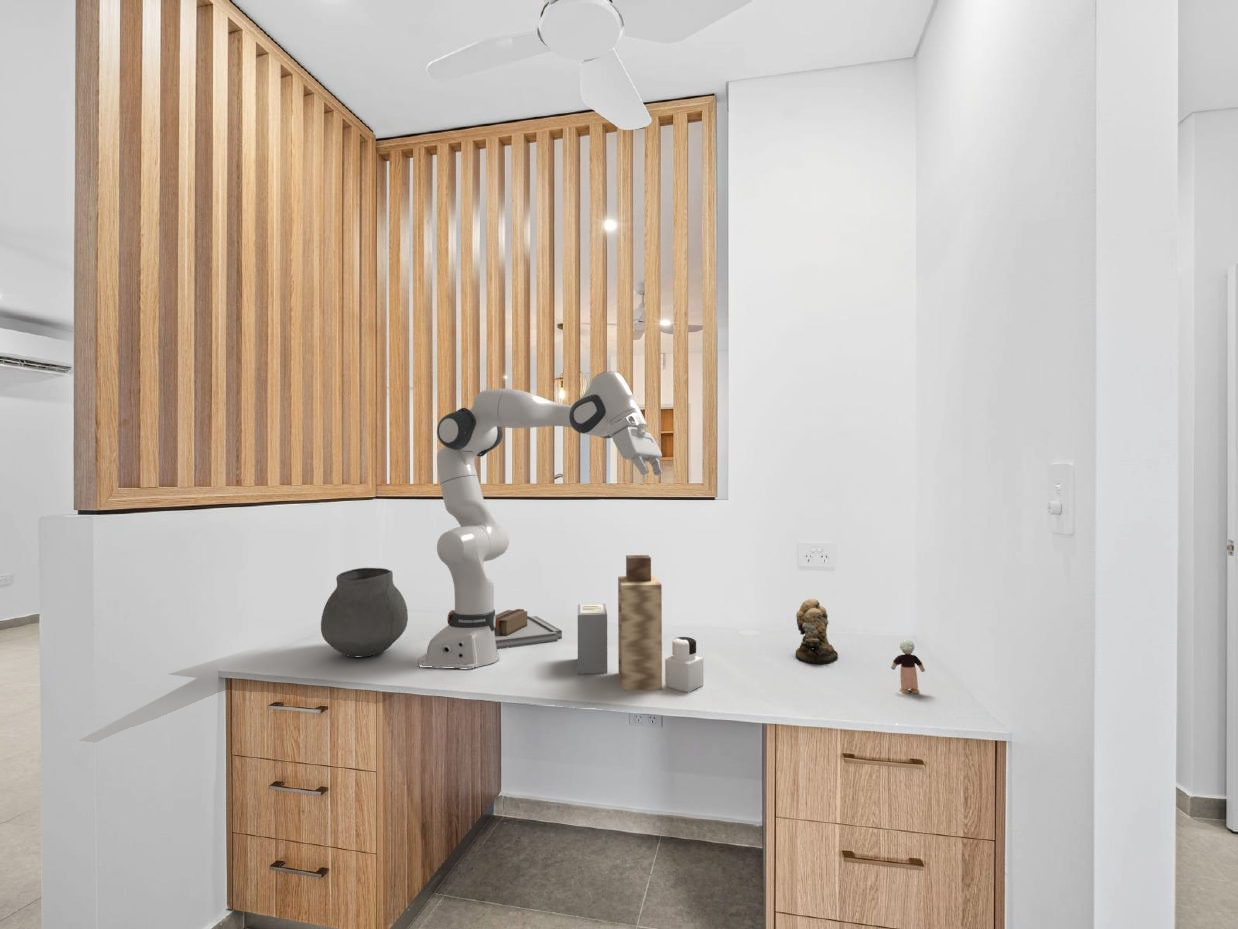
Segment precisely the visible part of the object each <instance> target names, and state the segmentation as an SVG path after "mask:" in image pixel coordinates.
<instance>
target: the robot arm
mask: <svg viewBox="0 0 1238 929" xmlns="http://www.w3.org/2000/svg"><path fill="white" fill-rule="evenodd" d="M648 425H649V424H648V423H647V421H646V419H645V417H644V415H643V413H642V410H641V409H640V407H639V406H638V405H637V404H636V402H635V398H634V395H633V392H632V391H631V389H630V387H629V385H628V383H627V382H626V380H625V378H624V377H623V376H622V375H621V373H618V372H616V371H610V370H609V371H604V372H601V373H599V374H596V375H595V376H593V378H592V380H591V382H590V384H589V387H588V389H587V390H586V392H584V394H583V395H582V396H581V397H580V398H579V399H578V400H577V401H576V402H574V403H573V404H572V405H571V404H563V403H558V402H555V401H552V400H550V399H546V398H544V397H541V396H539V395H536V394H534V393H532V392H531V393H530V392H528V391H524V390H520V389H514V388H492V389H484V390H482V391H480V392H479V393H477V395H476V396H475V398H474V401H473V405H472V407H471V408H470V409H468V408H466V407H462V408H459V409H457V410H456V411H453V412H450V413H448V414H446V415H445V416H443V417H442V418H441V419H440V420H439V422H438V424H437V427H436V428H437V429H436V434H437V438H438V440H439V442H440V443H441V444H442V445H443V447H441V448H440V449H439V451H438V452H437V453H436V454H437V455H436V464H437V465H436V467H437V476H438V481H439V486H440V491H441V493H442V498H443V503H444V506H445V507H444V508H445V510H446V511H447V512H448V514H449V515H450V516H452V517H454V518H455V520H456V521H457V522H458V524H459V525H460V526H458V527H454V528H452V529H449V530H448V531H445V532H444V533H442V534H441V535H440V536H439V538H438V540H437V543H436V553H437V556H438V558H439V559H440V561H441V562H442V563H443V564H444V565H446V566H447V568H448V570H449V572H450V575H451V578H452V582H453V588H454V589H453V590H454V609H451V610H450V611H449V612H448V614H447V624H448V625H446V626H445V627H444V628H442V629H441V630H439V632H438V633H436V634H435V635H434V636H432V638H431V639H430V641H428V642H429V643H428V644H427V649H426V653H425V654H423V655H422V656H421V657H419V659H418V664H420V665H422V666H432V667H454V668H467V669H466V670H472V669H471V668H473V669H475V668H474V667H476V668H479V667H482V666H488V665H491V664H493V663H496V662H498V661H499V660H500V655H499V652H498V649H497V647H496V641H495V632H494V630H495V626H496V615H497V614H496V610H495V609H494V608H495V606H494V605H495V603H494V602H495V600H494V598H495V597H494V594H495V592H494V591H495V590H494V589H495V588H494V587H495V586H494V583H493V581H492V580H491V578H489V577H488V576H487V574H486V572H485V568H484V562H488V561H493V560H495V559H497V558H499V557H500V556H502V555H504V553H506V551H507V550H508V547H509V542H510V540H509V535H508V533H507V530H505V528H504V527H502V526H501V525H499V523H498V522H497V521H496V520H495V518H494V517H493V515H492V514H491V512H490V510H489V508H488V506H487V504H486V502H485V499H484V496H483V492H482V489H481V484H480V481H479V476H478V474H477V469H476V464H475V463H476V462H475V461H476V458H477V457H479V458H480V457H481V458H482V457H484V456H485V455H486V454H488V453H489V452H491V451H492V450H494V449H495V448H497V447H498V446H499V445H500V443H501V442H502V439H503V428H508V429H529V428H543V427H544V428H545V427H566V428H572V429H573V430H574V431H575V432H577V433H580V434H583V435H587V436H595V437H598V438H602V439H611V438H612V440H613V443H614V445H615V448H616V449H617V451H618V453H619V454H620V456H621V457H622V458H623V459H624V460H628V461H629V460H630V461H632V463H633V464H634V465H635V467H636V468H637V469H638V471H639V473H640V475H643V476H645V475H648V474H649V473H650V470H649V468H648V466H647V465H645V464H646V463H644V462H647V463H649V465H650V466H651V467H652V472H653V474H654V476H660V475H662V474H663V470H662V469H661V465H660V459H661V458H662V457H663V455H662V451H661V449H660V446H659V445H658V444H657V442H656V440H655V438H654V437H653V435H652V434H651V433H650V432H646V430H647V428H648Z"/></svg>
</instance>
